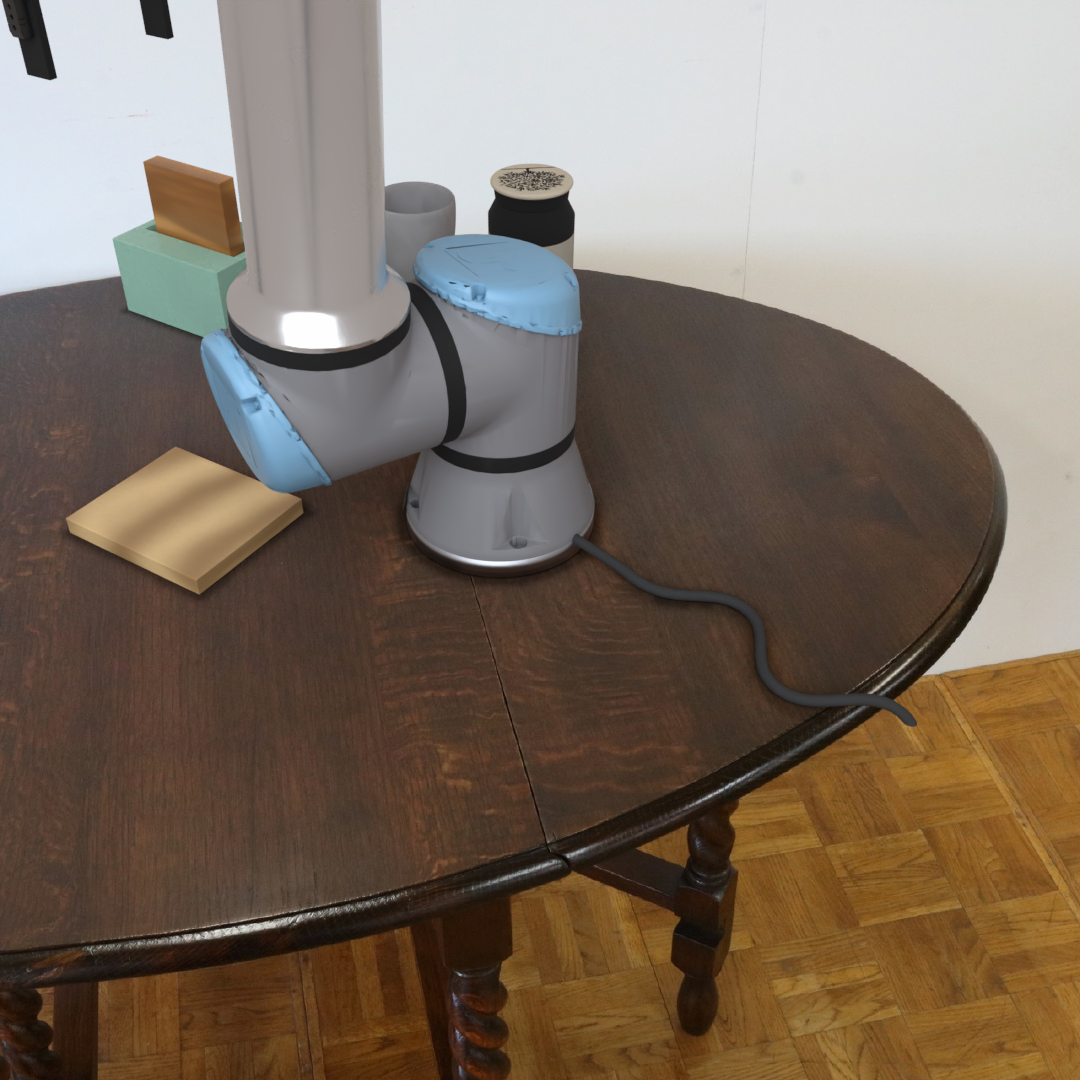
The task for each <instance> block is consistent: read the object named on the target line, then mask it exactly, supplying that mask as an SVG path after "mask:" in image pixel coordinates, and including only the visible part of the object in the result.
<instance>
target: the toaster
mask: <svg viewBox="0 0 1080 1080" xmlns="http://www.w3.org/2000/svg"><path fill="white" fill-rule="evenodd" d="M240 226H241V233H242V240H243V246H244V237H243V228H242V221H240ZM112 243H113V249H114V252H115V257H116V261H117V266H118V269H119V275H120V278H121V283H122V288H123V292H124V297H125V301H126V306H127V310H128V311H130V312H132V313H135V314H137V315H141V316H143V317H147V318H149V319H151V320H155V321H158V322H160V323H162V324H165V325H168V326H171V327H174V328H176V329H180V330H182V331H185V332H188V333H191V334H193V335H196V336H199V337H202V338H204V336H206V335H207V334H209V333H212V332H213V331H214V329H215V328H219V329H227V328H229V322H228V315H227V307H226V296H227V292H228V289H229V287H230V285H231V283H232V282H233V281H234V279H235V278H236V277H237V276H238V275H239V274H240V273H241V272H242V271H243V270H245V269H246V268H247V264H246V255H245V246H244V252H243V253H241V254H239V255H237V256H235V257H232V256H229V255H226V254H223V253H220V252H217V251H213V250H210V249H207V248H204V247H201V246H198V245H195V244H192V243H189V242H185V241H182V240H179V239H176V238H173V237H170V236H167V235H164V234H161V233H157V229H156V224H155V219H154V218H153V219H151V220H149V221H147V222H145V223H142V224H140V225H139V226H136V227H133V228H132V229H129V230H127V231H125V232H123V233H120V234H119V235H116V236H114V237H113V238H112Z"/></svg>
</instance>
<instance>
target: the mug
mask: <svg viewBox="0 0 1080 1080" xmlns="http://www.w3.org/2000/svg"><path fill="white" fill-rule="evenodd" d="M456 202H457V201H456V196H455V194H454V192H452V190H451V189H449V188H448V187H446V186H443V185H441V184H438V183H435V182H434V183H433V182H427V181H403V182H401V181H400V182H396V183H391V184H388V185H385V228H386V264H387V265H388V266H389V267H391V268H392V269H393V270H395V271H396V272H397V273H398V274H399V275H400V276H401V277H402V278H403V279H404V281H405V282H407V281H410V280H413V279H414V278H415V276H414V274H413V264H414V263H415V259H416V255H417V253H418V252H419V251H420V250H421V249H422V248H423V247H424V246H425V245H426V244H427V243H429V242H431V241H433V240H436V239H438V238H442V237H447V236H453V235H456V227H457V225H456V224H457V203H456Z"/></svg>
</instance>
